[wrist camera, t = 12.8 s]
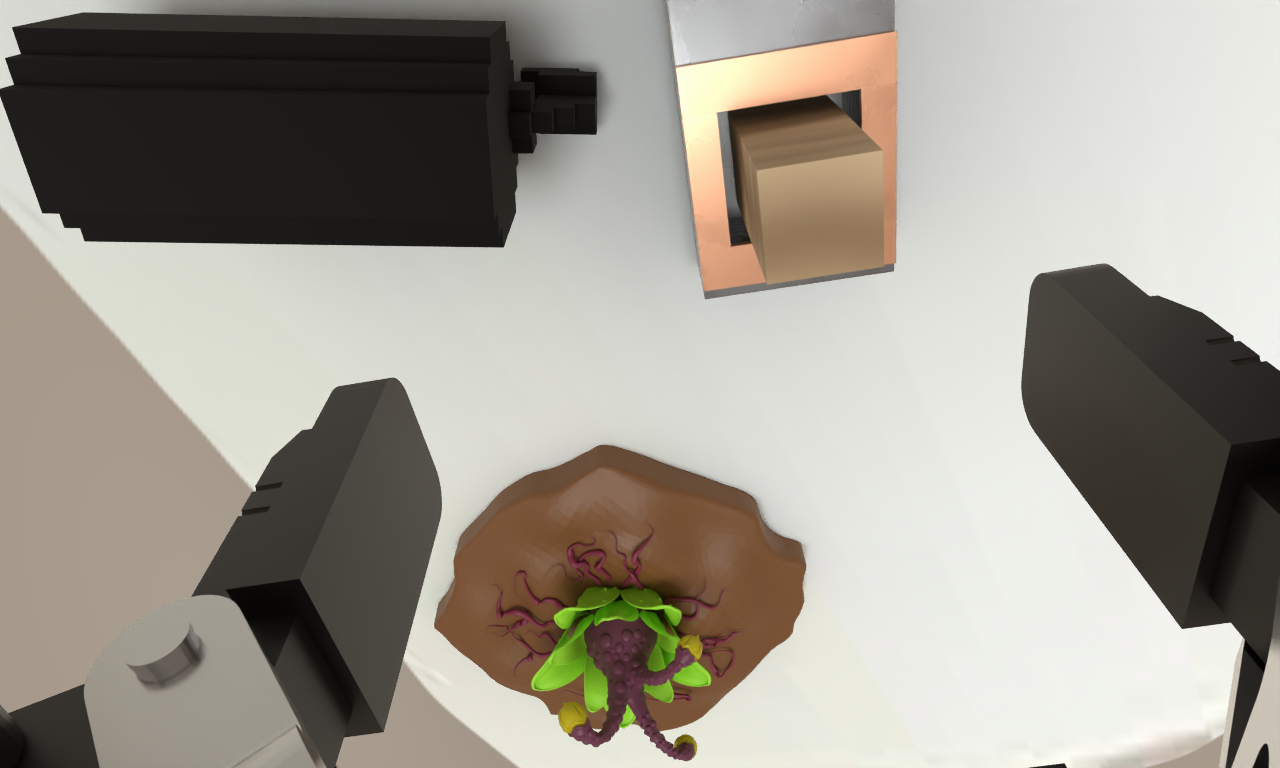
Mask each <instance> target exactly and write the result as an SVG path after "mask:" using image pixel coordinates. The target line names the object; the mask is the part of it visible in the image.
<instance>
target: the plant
mask: <svg viewBox="0 0 1280 768" xmlns="http://www.w3.org/2000/svg"><path fill="white" fill-rule="evenodd" d="M805 571H806V562H805V558H804V554H803V550H802V546H801V543H799V542H798V541H796V540H792V539H789V538H785V537H782V536H780V535H778V534H776V533H775V532H773V531H772V530H770V529H769V527H768V526H767V525H766V524H765V523H764V521H763V520H762V518H761V516H760V514H759V511H758V507H757V504H756V501H755V500H754V498H753V497H752V496H750V495H749V494H747V493H745V492H744V491H741V490H739V489H736V488H733V487H730V486H727V485H724V484H721V483H718V482H715V481H713V480H710V479H708V478H705V477H702V476H699V475H696V474H693V473H690V472H687V471H684V470H681V469H678V468H675V467H672V466H669V465H666V464H663V463H660V462H658V461H655V460H653V459H651V458H648V457H646V456H643V455H640V454H638V453H635V452H632V451H628V450H625V449H622V448H618V447H615V446H609V445H600V446H597V447H595V448H593V449H592V450H590V451H588V452H586V453H584V454H582V455H580V456H578V457H576V458H575V459H572V460H570V461H569V462H566V463H564V464H562V465H560V466H557V467H555V468H552V469H548V470H543V471H538V472H534V473H532V474H529V475H527V476H525V477H523V478H521V479H520V480H518V481H516V482H515V483H513V484H512V485H510V486H509V487H507V488H506V489H504V490H503V491H502V492H501V493H500V494H499V495H498V496H497V497H496V498H495V499H494V500H493V501H492V502H491V504H490V505H489V506H488V507H487V508H486V509H485V510H484V511H483V513H482V514H481V515H480V516H479V517H478V518H477V519H476V520H475V521H474V522H473V523H472V524H471V525H470V526H469V527H468V528H467V529H466V530H465V531H464V532H463V534H462V535H461V537H460V539H459V543H458V546H457V550H456V553H455V557H454V574H455V578H454V580H453V582H452V584H451V586H450V589H449V590H448V592H447V593H446V595H445V596H444V597H443V598H442V600H441V601H440V602H439V604H438V609H437V613H436V618H435V622H434V627H435V629H436V630H438V631H439V632H440V633H441V634H443V636H444V637H445V638H446V639H447V640H448V641H449V642H450V643H451V644H452V645H453V646H454V647H455V648H456V649H457V650H458V651H460V652H461V653H462V654H463V655H465V656H466V657H467V658H469V659H470V660H472V661H473V662H474V663H475V664H477V665H478V666H479V667H480V668H482V669H483V670H484V671H485V672H486V673H487V674H488V675H489V676H490V677H491V678H492V679H493V680H495V681H496V682H497V683H499V684H501V685H503V686H505V687H507V688H510V689H512V690H515V691H518V692H521V693H525V694H528V695H532V696H535V697H537V698H539V699H541V700H542V701H543V702H544V703H545V704H546V706H547V707H548V709H549V711H550V713H551V714H553V715H558V719H559V723H560V726H561V727H562V729H563V731H564V732H566V733H568V735H569V736H570V737H574V738H575V739H576V740H577V741H582V742H583V744H585V745H588V744H592V746H594V747H598V746H600V744H603V743H604V742H608V741H610V740H611V737H613V736H614V734H615V733H616V732H617V731H618V730H619V727H621V728H626V727H628V726H629V725H630V724H636V725H639V726H640V727H641V728H642V729H644V730H645V731H644V734H645V735H647V736H649V737H650V741H651V742H654V743H655V744H656V747H657V748H660V749H661V751H663V753H667V755H668V756H669V757H673V758H674V759H677V758H678V760H683V761H689V760H691V759H692V758H694V756H695V755H696V751H697V743H696V741H695V740H694V738H693V737H691V736H690V735H682V736H680V737H678V738H677V739H676V741H675V743H674V745H673V744H672V743H671V744H670V742H667V741H666V740H665V737H664V735H663V734H661V733H660V732H659V731H664V730H670V729H674V728H678V727H681V726H684V725H687V724H690V723H692V722H694V721H696V720H698V719H700V718H701V717H703V716H704V715H705V714H706V713H707V712H708V711H709V710H710V709H711V708H712V707H714V706H715V705H716V704H717V703H718V702H719V701H720V700H721V699H722V698H723V697H724V696H725V695H726V694H727V693H728V692H729V691H731V690H732V689H733V688H734V687H736V686H737V685H738V684H739V683H740V682H741V681H742V680H744V679H745V678H746V677H747V676H748V675H749V674H750V673H751V672H752V671H753V670H754V669H755V667H756V666H757V665H758V664H759V663H760V662H761V661H762V659H763V658H764V657H765V656H766V655H767V654H768V653H769V652H770V651H771V650H772V649H773V648H775V647H776V646H777V645H779V644H781V643H782V642H784V641H785V640H786V639H788V638H789V637H790V636H791V634H792V633H793V627H794V623H795V621H796V619H797V617H798V615H799V614H800V611H801V609H802V607H803V603H804V593H803V588H802V587H803V579H804V574H805ZM592 728H594V729H602V730H601V731H600V732H599V733H597V732H596V731H594V730H593V729H592ZM673 747H674V748H673Z"/></svg>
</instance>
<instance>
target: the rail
mask: <svg viewBox="0 0 1280 768" xmlns="http://www.w3.org/2000/svg"><path fill="white" fill-rule="evenodd" d="M664 3H665V10H666V18H667V26H668V34H669V41H670V49H671V57H672V65H673V73H674V80H675V88H676V96H677V104H678V112H679V119H680V127H681V135H682V143H683V150H684V158H685V166H686V174H687V182H688V189H689V197H690V205H691V213H692V221H693V228H694V236H695V244H696V252H697V259H698V266H699V271H700V276H701V281H702V286H703V291H704V296H705V299H710V298H716V297H723V296H730V295H737V294H743V293H750V292H757V291H764V290H770V289H777V288H784V287H791V286H798V285H804V284H811V283H818V282H825V281H831V280H838V279H845V278H852V277H858V276H865V275H872V274H879V273H885V272H892V271H894V263H896V121H897V31H895V30H894V0H664ZM821 95H827V96H828V97H829V98H830V99H831V100H832V101H833V102H834V103H835V104H836V105H837V106H838V107H839V108H840V109H841V110H842V111H843V112H845V113H846V114H847V115H848V116H849V117H850V118H851V119H852V120H853V121H854V122H855V123H856V124H857V125H858V126H859V127H860V128H861V129H862V130H863V131H864V132H865V133H866V134H867V135H868V136H869V137H870V138H871V139H872V140H873V141H874V142H875V143H876V144H877V145H878V146H879V147H880V148H881V149H882V150H883V202H884V267H879V268H872V269H866V270H859V271H853V272H846V273H840V274H833V275H827V276H820V277H814V278H807V279H800V280H794V281H787V282H781V283H774V284H768V285H767V283H766V281H765V278H764V275H763V272H762V270H761V267H760V264H759V261H758V259H757V256H756V253H755V250H754V248H753V245H752V242H751V240H750V237H749V234H748V231H747V229H746V226H745V223H744V220H743V218H742V215H741V212H740V209H739V207H738V204H737V200H736V190H735V181H734V171H733V161H732V152H731V142H730V133H729V123H728V113H727V111H729V110H735V109H741V108H748V107H754V106H760V105H766V104H772V103H778V102H784V101H790V100H797V99H803V98H809V97H815V96H821Z"/></svg>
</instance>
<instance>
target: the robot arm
mask: <svg viewBox="0 0 1280 768" xmlns="http://www.w3.org/2000/svg"><path fill="white" fill-rule="evenodd" d="M1233 337H1234V336H1233V335H1231V334H1230V333H1229V332H1227V331H1226V330H1225V329H1223V328H1222V327H1221V326H1219V325H1218V324H1217V323H1215V322H1214V321H1213V320H1211V319H1210V318H1209V317H1207V316H1206V315H1205V314H1203V313H1202V312H1199V311H1197V310H1194V309H1192V308H1189V307H1186V306H1184V305H1181V304H1179V303H1176V302H1173V301H1171V300H1168V299H1166V298H1163V297H1160V296H1158V295H1157V296H1151V297H1150V296H1148V295H1147V294H1146V293H1145V292H1143V291H1142V290H1141V289H1140V288H1138V287H1137V286H1136V285H1135V284H1133V283H1132V282H1131V281H1130V280H1128V279H1127V278H1126V277H1125V276H1123V275H1122V274H1121V273H1120V272H1118V271H1117V270H1116V269H1115V268H1113V267H1112V266H1110V265H1108V264H1096V265H1090V266H1084V267H1078V268H1072V269H1065V270H1059V271H1053V272H1047V273H1041V274H1039V275H1038V276H1037V277H1036V278H1035V279H1034V281H1033V283H1032V285H1031V289H1030V295H1029V305H1028V316H1027V327H1026V338H1025V348H1024V359H1023V370H1022V382H1021V389H1022V399H1023V404H1024V408H1025V412H1026V415H1027V418H1028V420H1029V423H1030V425H1031V427H1032V429H1033V430H1034V432H1035V433H1036V434H1037V436H1038V437H1039V438H1040V440H1041V441H1042V442H1043V444H1044V445H1045V446H1046V448H1047V449H1048V450H1049V452H1050V453H1051V454H1052V456H1053V457H1054V458H1055V460H1056V461H1057V462H1058V464H1059V465H1060V466H1061V468H1062V469H1063V470H1064V472H1065V473H1066V474H1067V476H1068V477H1069V478H1070V480H1071V481H1072V483H1073V484H1074V485H1075V487H1076V488H1077V489H1078V491H1079V492H1080V493H1081V495H1082V496H1083V497H1084V499H1085V500H1086V501H1087V503H1088V504H1089V505H1090V507H1091V508H1092V509H1093V511H1094V512H1095V513H1096V515H1097V516H1098V517H1099V519H1100V520H1101V521H1102V523H1103V524H1104V525H1105V527H1106V528H1107V529H1108V531H1109V532H1110V533H1111V535H1112V536H1113V537H1114V539H1115V540H1116V541H1117V543H1118V544H1119V545H1120V547H1121V548H1122V549H1123V551H1124V552H1125V553H1126V555H1127V556H1128V557H1129V559H1130V560H1131V561H1132V563H1133V564H1134V565H1135V567H1136V568H1137V569H1138V571H1139V572H1140V573H1141V575H1142V576H1143V577H1144V579H1145V580H1146V581H1147V583H1148V584H1149V585H1150V587H1151V588H1152V589H1153V591H1154V592H1155V593H1156V595H1157V596H1158V597H1159V599H1160V600H1161V602H1162V603H1163V604H1164V606H1165V607H1166V608H1167V610H1168V611H1169V612H1170V614H1171V615H1172V616H1173V618H1174V619H1175V620H1176V622H1177V623H1178V624H1179V626H1180V627H1181V628H1182V629H1185V628H1193V627H1200V626H1208V625H1215V624H1223V623H1230V622H1231V623H1232V624H1233V626H1234V627H1235V628H1236V629H1237V630H1238V632H1239V633H1240V634H1241V635H1242V637H1243V639H1242V642H1241V645H1240V648H1239V651H1238V654H1237V658H1236V661H1235V667H1234V674H1233V680H1232V686H1231V693H1230V699H1229V706H1228V712H1227V718H1226V725H1225V731H1224V737H1223V744H1222V750H1221V757H1220V763H1219V768H1280V371H1279V370H1278V369H1276V368H1275V367H1274V366H1272V365H1271V364H1270V363H1268V362H1267V361H1264V362H1261V361H1260V356H1259V355H1258V354H1256V353H1255V352H1254V351H1253V350H1251V349H1250V348H1249V347H1247V346H1246V345H1245V344H1243V343H1242V342H1241V341H1236V342H1235V341H1234V339H1233ZM255 487H256V492H252V493H251V495H250V497H249V498H248V500H247V502H246V503H245V505H244V507H243V508H242V516H238V517H237V519H236V521H235V522H234V524H233V526H232V527H231V529H230V531H229V533H228V534H227V536H226V538H225V540H224V541H223V543H222V545H221V546H220V548H219V550H218V552H217V553H216V555H215V557H214V559H213V560H212V562H211V564H210V566H209V567H208V569H207V571H206V572H205V574H204V576H203V578H202V579H201V581H200V583H199V584H198V586H197V588H196V590H195V591H194V593H193V595H192V596H191V597H188V598H185V599H182V600H178V601H175V602H173V603H170V604H168V605H165V606H163V607H161V608H159V609H157V610H155V611H153V612H151V613H149V614H148V615H146V616H144V617H142V618H141V619H139V620H138V621H136V622H135V623H134V624H132V625H131V626H129V627H128V628H127V629H126V630H124V631H123V632H122V633H121V634H120V635H118V636H117V637H116V638H115V639H114V640H113V641H112V642H111V643H110V644H109V645H108V646H107V647H106V648H105V649H104V651H103V652H102V653H101V654H100V656H99V657H98V658H97V659H96V661H95V663H94V664H93V666H92V668H91V669H90V671H89V674H88V676H87V679H86V681H85V684H83V685H81V686H78V687H75V688H73V689H70V690H68V691H65V692H62V693H60V694H57V695H55V696H52V697H49V698H47V699H44V700H42V701H39V702H37V703H34V704H31V705H29V706H26V707H24V708H21V709H18V710H16V711H13V712H11V713H7V712H6V711H5V710H4V709H3V707H1V705H0V768H338V767H337V765H336V762H337V758H338V755H339V752H340V748H341V745H342V742H343V739H344V737H350V736H358V735H365V734H373V733H380V732H384V728H385V724H386V721H387V717H388V713H389V709H390V706H391V702H392V698H393V695H394V691H395V687H396V683H397V679H398V676H399V672H400V668H401V665H402V661H403V657H404V653H405V650H406V646H407V642H408V638H409V635H410V631H411V627H412V623H413V620H414V616H415V612H416V608H417V605H418V601H419V597H420V593H421V589H422V586H423V582H424V578H425V574H426V571H427V567H428V563H429V559H430V556H431V552H432V548H433V544H434V541H435V537H436V533H437V529H438V526H439V522H440V518H441V511H442V497H441V487H440V482H439V477H438V474H437V471H436V468H435V465H434V463H433V460H432V457H431V455H430V452H429V450H428V447H427V444H426V442H425V439H424V437H423V434H422V431H421V429H420V426H419V424H418V421H417V418H416V416H415V413H414V411H413V408H412V405H411V403H410V400H409V398H408V395H407V393H406V390H405V389H404V387H403V385H402V384H401V382H400V381H399V380H398V379H396V378H387V379H381V380H375V381H369V382H362V383H356V384H350V385H344V386H339V387H336V388H335V389H334V390H333V391H332V393H331V394H330V396H329V398H328V400H327V402H326V404H325V406H324V407H323V409H322V411H321V413H320V415H319V417H318V419H317V420H316V422H315V424H314V426H313V428H312V429H308V430H302V431H301V432H300V433H298V434H297V435H296V436H295V437H294V438H293V439H292V440H291V441H290V442H289V443H287V444H286V445H285V446H284V447H283V448H282V449H281V450H280V451H279V452H278V453H276V454H275V455H274V456H273V457H272V458H271V460H270V462H269V464H268V465H267V467H266V469H265V470H264V472H263V474H262V476H261V477H260V479H259V481H258V483H257V484H256V486H255ZM1031 768H1067V767H1066V765H1065V763H1063V764H1055V765H1047V766H1039V767H1031Z"/></svg>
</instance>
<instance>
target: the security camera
mask: <svg viewBox="0 0 1280 768" xmlns="http://www.w3.org/2000/svg"><path fill="white" fill-rule="evenodd" d="M12 29H13V32H14V35H15V38H16V41H17V44H18V47H19V50H20V52H21V54H19V55H15V56H12V57H8V58H5V60H6V63H7V65H8V68H9V71H10V74H11V77H12V80H13V83H14V85H11V86H8V87H5V88H2V89H0V97H1V100H2V103H3V105H4V108H5V111H6V114H7V116H8V119H9V122H10V125H11V128H12V130H13V133H14V136H15V139H16V141H17V144H18V147H19V150H20V153H21V155H22V158H23V161H24V164H25V166H26V169H27V172H28V175H29V177H30V180H31V183H32V186H33V189H34V191H35V194H36V197H37V200H38V202H39V205H40V208H41V211H42V213H55V214H60V217H61V220H62V223H63V225H64V228H80V229H81V232H82V235H83V238H84V241H98V242H166V243H234V244H302V245H370V246H438V247H504V245H505V242H506V239H507V236H508V233H509V231H510V228H511V225H512V222H513V219H514V216H515V214H516V202H515V191H516V189H517V173H516V167H517V164H518V153H533V152H534V149H535V147H536V144H537V136H536V133H540V134H589V135H596V133H597V72H579V69H569V68H522V70H521V82H514V72H513V60H510V48H509V42H506V27H505V21H461V20H414V19H366V18H319V17H271V16H224V15H176V14H129V13H79V14H74V15H69V16H64V17H59V18H55V19H50V20H45V21H40V22H36V23H31V24H26V25H21V26H16V27H12Z"/></svg>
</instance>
